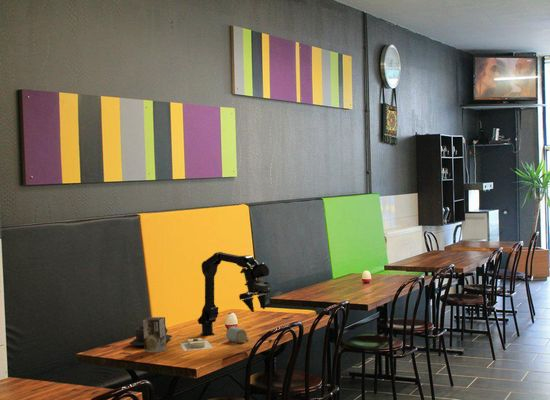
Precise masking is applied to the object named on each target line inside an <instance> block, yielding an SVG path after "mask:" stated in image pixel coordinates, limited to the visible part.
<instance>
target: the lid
mask: <svg viewBox="0 0 550 400" xmlns="http://www.w3.org/2000/svg"><path fill="white" fill-rule="evenodd" d="M204 341H205V340H203V338H202V337H197V338H187V339H186V342H187V344H188V345H189V347H190V348H202V347H205V342H204Z"/></svg>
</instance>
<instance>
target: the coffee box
mask: <svg viewBox="0 0 550 400" xmlns="http://www.w3.org/2000/svg"><path fill="white" fill-rule="evenodd" d="M142 324H143V325H142V326H143V328H144V353H162V352H164V351H166V350H167V349H168V348H167V341H166V335H167V333H166V329H167V326H166V317H164V316H163V317H161V316H148V317H147V318H144V319H142ZM165 326H166V327H165Z"/></svg>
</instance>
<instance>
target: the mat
mask: <svg viewBox="0 0 550 400" xmlns="http://www.w3.org/2000/svg"><path fill="white" fill-rule="evenodd" d="M203 341H204V342H205V347H202V348H190V347H189V345H188V344H187V341H186V342H179V344H180V346H181V348H182V349H183V351H184V352H185V351H196V350H208V349H214V347H213V346H212V345H211V343H209V341H208V340H203Z"/></svg>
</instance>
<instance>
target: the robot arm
mask: <svg viewBox="0 0 550 400" xmlns="http://www.w3.org/2000/svg"><path fill="white" fill-rule="evenodd" d="M222 262H225V263H231V264H236V266H238V267H241V270H240V272H239V273H240V274H243V276H244V279H245V283H244V286H246V288H247V291H246V292H243V293H240V294H239V296H238V298H239V301H241V302H243V303H244V305H246V306H247V308H248V310H250V311H251V313H254V312H255V308H254V296H256V298H257V299H258V302H259V304H260V307H261V308H262V310H265V309H266V301H267V297H268V295H270V293H271V291H270V288H271V285H270V282H269V281H264V282H263V283H261V281H260V280H258V279H261V278H265V277H267V276H269V275H270V269H269V267H268V266H267V265H266V264H265V262H261V263H259V262H258V261H257V260H256V259H255V258H254V256H253V255H251V254H249V255H247V254H246V255H237V254H232V253H226V252H223V251H217V252H215V253H213V254H212V255H211V256H210V257H208V258H207V259H206V260H204V261H202V262H201V273H202V274H203V276H204V305H203V306H202V310H201V315H200V317H198V318H197V322H198V323H197V324H199V325H201V332H200V335H201V336H202V337H203V336H204V337H205V336H206V337H207V336H215V333H214V329H213V323H216V320H217V318H218V315H219V307H218V306H216V304H215V276H216V274H217V272H218V266H220V264H221V263H222Z"/></svg>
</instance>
